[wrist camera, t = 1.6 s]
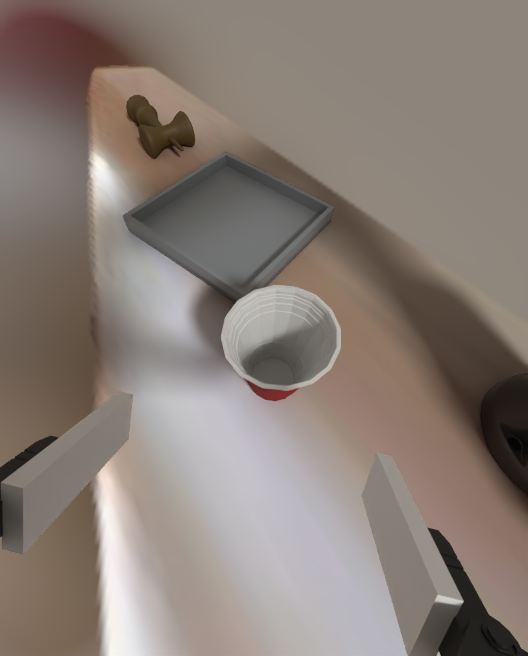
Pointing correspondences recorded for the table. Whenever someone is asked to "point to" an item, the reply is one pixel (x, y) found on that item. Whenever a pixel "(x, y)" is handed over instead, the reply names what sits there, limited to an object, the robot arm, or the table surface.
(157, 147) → the kendama
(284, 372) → the plastic cup
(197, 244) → the grey tray
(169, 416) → the table surface
